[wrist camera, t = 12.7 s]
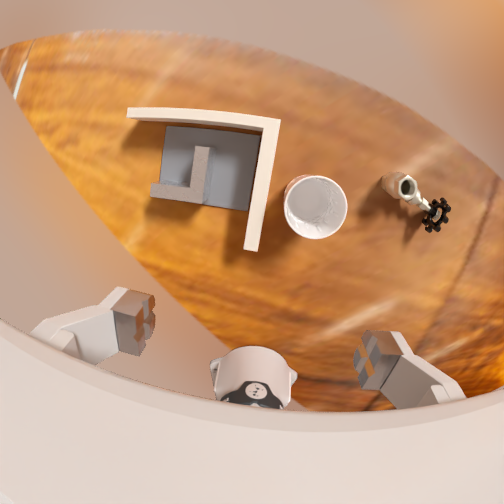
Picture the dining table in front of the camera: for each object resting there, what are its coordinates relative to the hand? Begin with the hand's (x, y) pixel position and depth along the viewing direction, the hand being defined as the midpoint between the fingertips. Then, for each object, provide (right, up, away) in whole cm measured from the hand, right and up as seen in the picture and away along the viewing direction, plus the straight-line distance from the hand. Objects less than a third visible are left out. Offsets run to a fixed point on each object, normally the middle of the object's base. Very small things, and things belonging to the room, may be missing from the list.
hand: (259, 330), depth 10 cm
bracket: (-9, +16, +31) cm, 36 cm away
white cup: (+8, +12, +32) cm, 35 cm away
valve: (+26, +13, +31) cm, 42 cm away
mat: (-7, +16, +31) cm, 36 cm away
